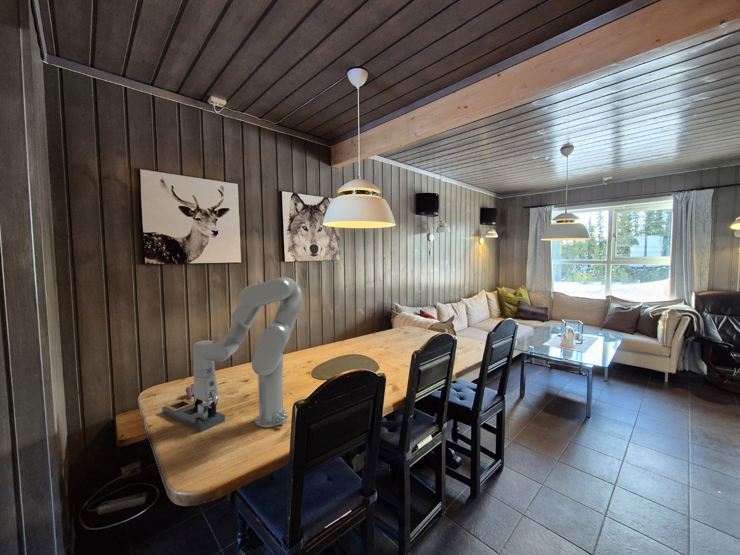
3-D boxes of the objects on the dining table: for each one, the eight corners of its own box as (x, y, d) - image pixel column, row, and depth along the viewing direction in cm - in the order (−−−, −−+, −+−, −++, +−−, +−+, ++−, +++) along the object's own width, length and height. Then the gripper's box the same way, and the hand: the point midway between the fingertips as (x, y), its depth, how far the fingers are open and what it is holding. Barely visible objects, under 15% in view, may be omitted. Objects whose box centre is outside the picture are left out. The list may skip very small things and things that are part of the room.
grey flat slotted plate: (224, 421, 127) (224, 414, 127) (200, 432, 119) (200, 425, 119) (185, 404, 143) (185, 398, 143) (162, 413, 135) (161, 406, 135)
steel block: (213, 422, 126) (213, 403, 126) (204, 426, 123) (203, 407, 123) (208, 419, 129) (207, 401, 128) (198, 424, 125) (197, 404, 125)
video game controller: (207, 394, 158) (204, 380, 159) (210, 392, 155) (207, 378, 157) (186, 401, 150) (183, 386, 152) (189, 399, 147) (186, 384, 149)
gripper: (225, 372, 123) (226, 415, 124) (201, 365, 133) (202, 404, 133) (207, 378, 117) (208, 423, 118) (183, 370, 126) (184, 411, 127)
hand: (205, 413), depth 126 cm, fingers open, 8 cm apart
